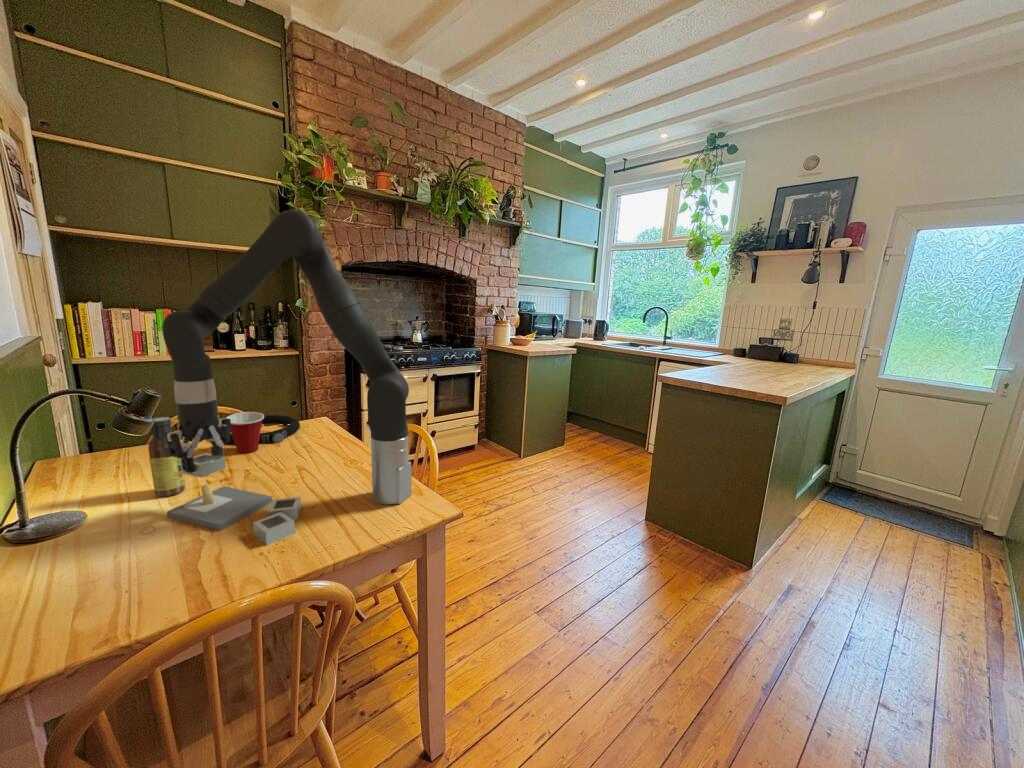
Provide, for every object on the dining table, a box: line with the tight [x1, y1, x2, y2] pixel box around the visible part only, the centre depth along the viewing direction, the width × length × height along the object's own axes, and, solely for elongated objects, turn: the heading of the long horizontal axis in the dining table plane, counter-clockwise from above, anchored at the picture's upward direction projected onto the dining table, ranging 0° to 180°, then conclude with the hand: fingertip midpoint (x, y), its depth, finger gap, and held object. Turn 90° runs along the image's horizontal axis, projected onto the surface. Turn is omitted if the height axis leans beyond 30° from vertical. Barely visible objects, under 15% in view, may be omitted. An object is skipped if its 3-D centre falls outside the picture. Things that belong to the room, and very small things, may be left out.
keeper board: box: [166, 483, 273, 531], centre depth 99 cm, size 16×14×6 cm
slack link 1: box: [267, 496, 302, 521], centre depth 98 cm, size 6×6×3 cm
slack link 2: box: [252, 512, 296, 546], centre depth 90 cm, size 6×6×3 cm
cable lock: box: [216, 414, 301, 445], centre depth 153 cm, size 28×4×30 cm
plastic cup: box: [225, 411, 265, 455], centre depth 135 cm, size 11×11×12 cm
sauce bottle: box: [148, 416, 186, 498], centre depth 105 cm, size 7×6×20 cm
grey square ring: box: [181, 452, 227, 479], centre depth 97 cm, size 6×6×3 cm
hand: (204, 466), depth 97 cm, fingers closed on grey square ring, 6 cm apart
